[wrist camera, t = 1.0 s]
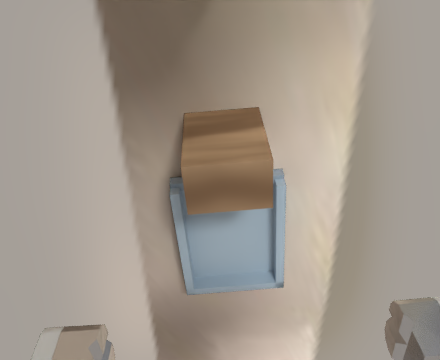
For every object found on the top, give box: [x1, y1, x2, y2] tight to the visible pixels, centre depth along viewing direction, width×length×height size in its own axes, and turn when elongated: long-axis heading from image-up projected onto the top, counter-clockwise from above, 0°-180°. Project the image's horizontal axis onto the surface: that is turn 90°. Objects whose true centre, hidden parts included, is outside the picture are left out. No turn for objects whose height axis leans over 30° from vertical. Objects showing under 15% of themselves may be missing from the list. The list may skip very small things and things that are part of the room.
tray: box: [170, 169, 286, 295], centre depth 40 cm, size 13×10×2 cm
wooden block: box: [181, 107, 273, 215], centre depth 31 cm, size 4×6×8 cm, turn 94°
